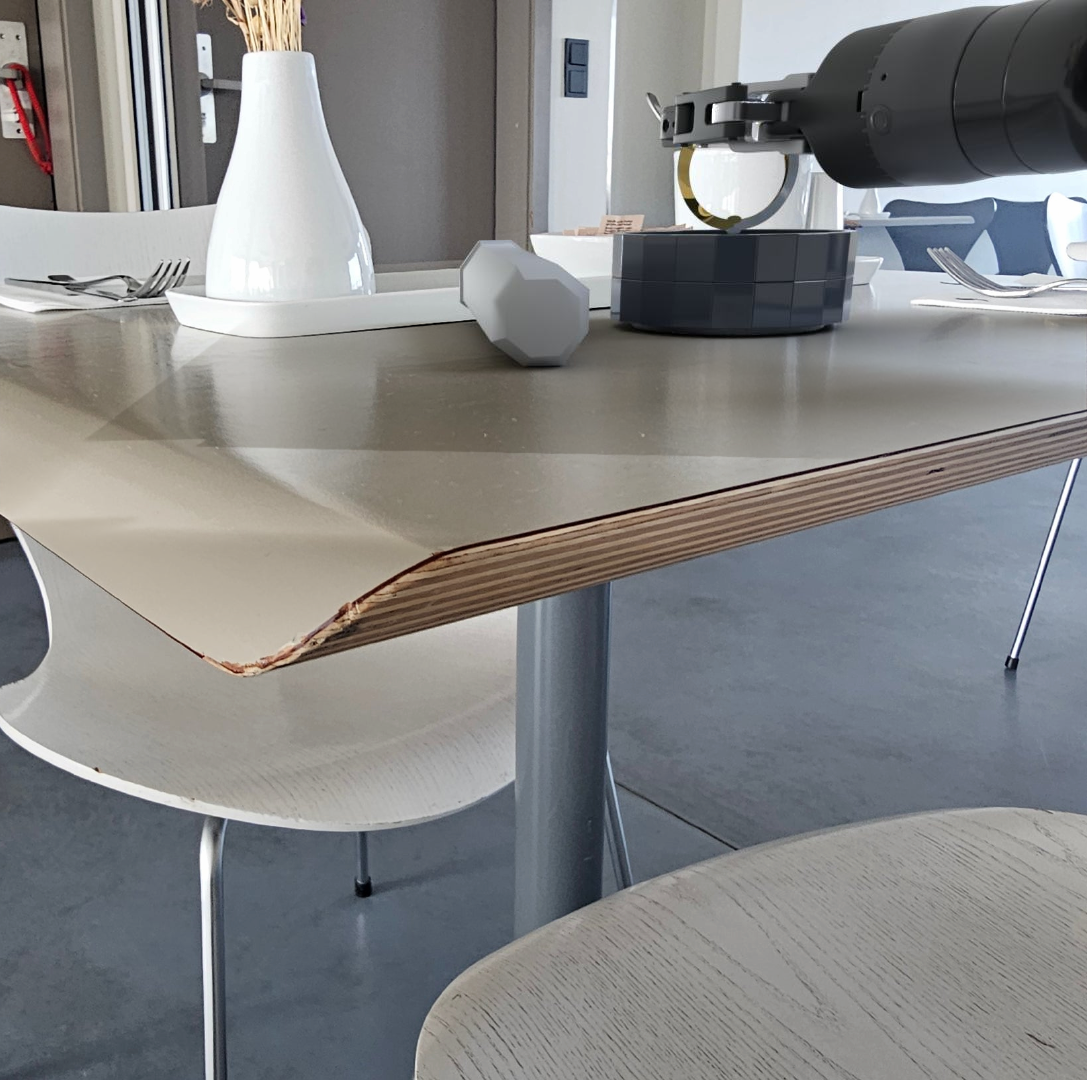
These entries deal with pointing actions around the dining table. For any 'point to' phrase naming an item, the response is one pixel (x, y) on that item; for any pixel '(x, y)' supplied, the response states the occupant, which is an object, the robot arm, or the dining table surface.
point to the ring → (734, 222)
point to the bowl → (733, 280)
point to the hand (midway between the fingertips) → (715, 128)
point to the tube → (524, 302)
